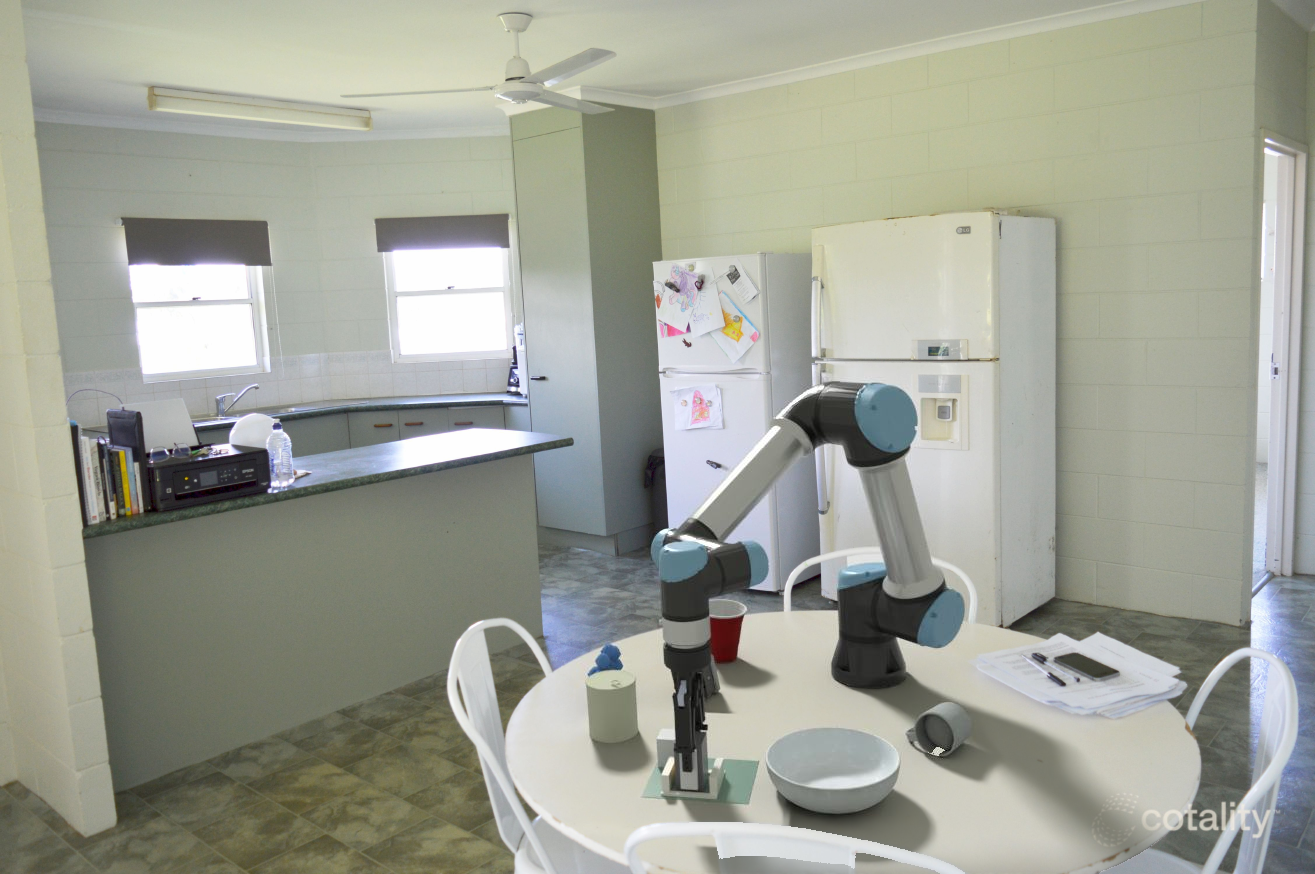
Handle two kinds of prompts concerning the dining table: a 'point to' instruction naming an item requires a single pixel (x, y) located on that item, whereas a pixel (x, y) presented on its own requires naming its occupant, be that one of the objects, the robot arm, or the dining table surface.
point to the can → (612, 706)
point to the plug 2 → (701, 763)
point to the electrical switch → (707, 679)
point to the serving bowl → (833, 768)
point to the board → (724, 783)
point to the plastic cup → (725, 628)
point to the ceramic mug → (941, 728)
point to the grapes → (607, 660)
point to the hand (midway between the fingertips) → (693, 778)
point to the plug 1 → (665, 746)
